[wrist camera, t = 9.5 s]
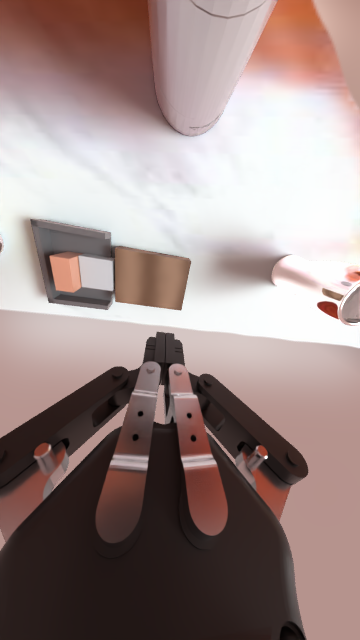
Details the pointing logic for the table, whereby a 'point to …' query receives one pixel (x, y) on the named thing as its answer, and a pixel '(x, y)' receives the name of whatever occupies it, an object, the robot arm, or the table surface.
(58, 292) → the charcoal tray
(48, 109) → the table surface
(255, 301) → the table surface
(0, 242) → the supplement bottle
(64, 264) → the terracotta tile
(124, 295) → the walnut board
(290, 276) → the beer glass
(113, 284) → the grey tile
